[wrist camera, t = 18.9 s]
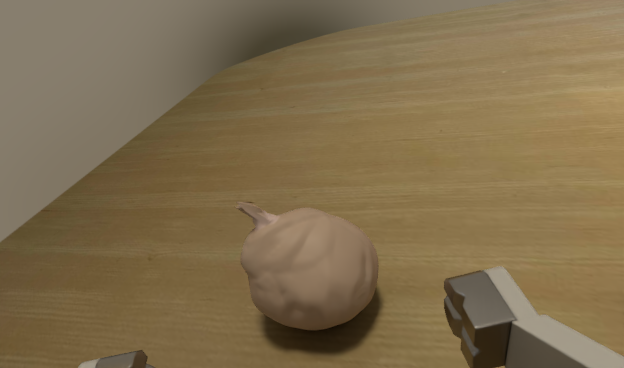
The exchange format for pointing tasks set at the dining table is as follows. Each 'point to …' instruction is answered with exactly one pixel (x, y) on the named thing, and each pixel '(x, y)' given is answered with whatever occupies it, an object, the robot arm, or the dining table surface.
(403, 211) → the dining table surface
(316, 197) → the dining table surface
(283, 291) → the garlic bulb
